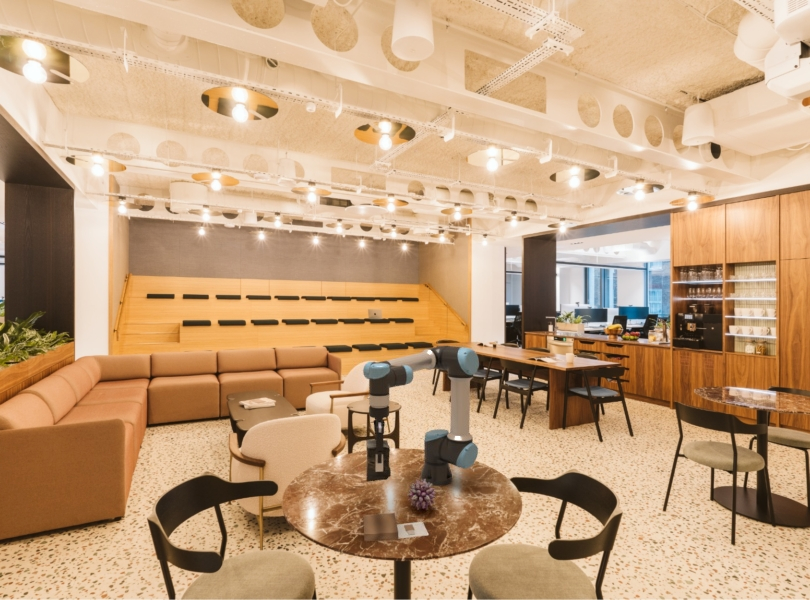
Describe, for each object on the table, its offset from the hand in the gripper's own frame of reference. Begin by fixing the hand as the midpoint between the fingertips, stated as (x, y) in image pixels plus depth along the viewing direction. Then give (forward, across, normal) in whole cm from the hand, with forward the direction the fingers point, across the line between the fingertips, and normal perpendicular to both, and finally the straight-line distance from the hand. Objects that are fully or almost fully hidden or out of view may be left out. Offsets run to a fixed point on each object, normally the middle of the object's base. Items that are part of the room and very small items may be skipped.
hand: (378, 466), depth 153 cm
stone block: (+5, 0, 0) cm, 5 cm away
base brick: (+23, +2, +1) cm, 23 cm away
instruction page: (+23, +2, +12) cm, 26 cm away
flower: (+23, -13, +18) cm, 32 cm away
